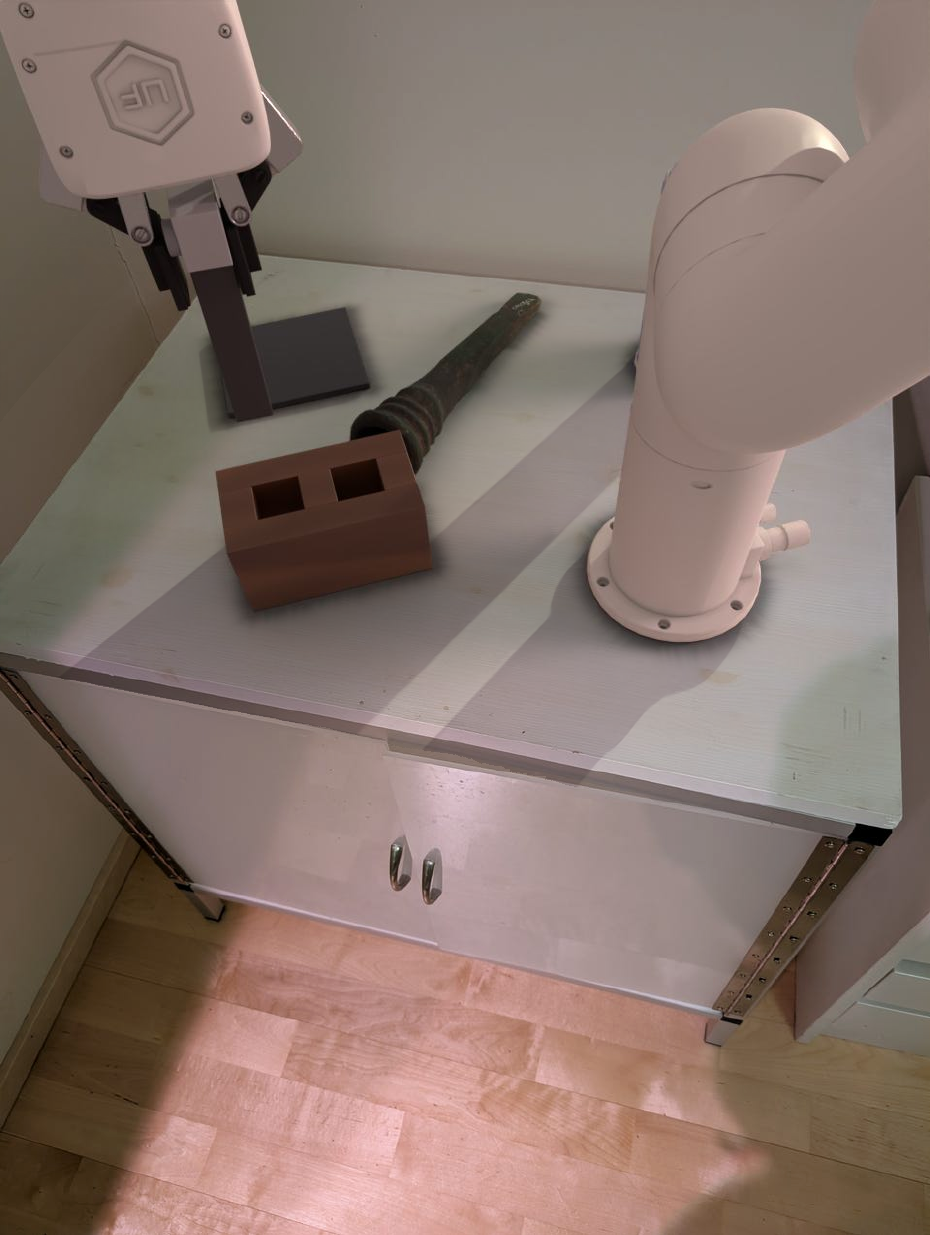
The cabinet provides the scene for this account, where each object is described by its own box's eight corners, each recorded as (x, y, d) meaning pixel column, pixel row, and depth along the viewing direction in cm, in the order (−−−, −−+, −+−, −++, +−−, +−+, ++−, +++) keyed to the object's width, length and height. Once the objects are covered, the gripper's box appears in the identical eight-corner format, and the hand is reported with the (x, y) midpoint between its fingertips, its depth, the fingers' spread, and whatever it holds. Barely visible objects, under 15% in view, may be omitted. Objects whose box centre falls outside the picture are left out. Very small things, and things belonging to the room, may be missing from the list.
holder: (240, 532, 67) (215, 470, 62) (409, 493, 69) (399, 429, 63) (252, 612, 63) (226, 553, 57) (433, 568, 64) (425, 506, 58)
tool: (413, 500, 68) (406, 440, 63) (351, 470, 71) (338, 410, 65) (578, 319, 81) (583, 255, 75) (520, 298, 83) (522, 235, 78)
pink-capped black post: (267, 387, 56) (209, 168, 44) (276, 429, 54) (218, 210, 42) (222, 395, 56) (152, 177, 44) (230, 439, 53) (157, 220, 42)
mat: (346, 311, 83) (345, 306, 83) (370, 387, 77) (369, 382, 76) (216, 338, 82) (214, 333, 81) (229, 418, 75) (227, 413, 75)
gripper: (-161, -65, 30) (70, 361, 45) (294, -137, 31) (368, 296, 46) (-134, -125, 34) (69, 283, 49) (267, -186, 36) (343, 226, 51)
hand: (214, 287), depth 47 cm, fingers closed on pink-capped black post, 3 cm apart
